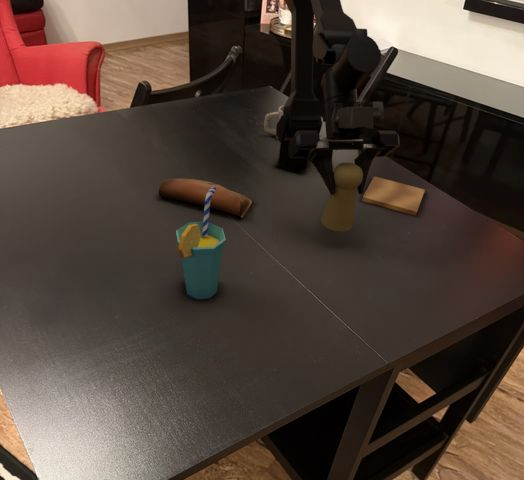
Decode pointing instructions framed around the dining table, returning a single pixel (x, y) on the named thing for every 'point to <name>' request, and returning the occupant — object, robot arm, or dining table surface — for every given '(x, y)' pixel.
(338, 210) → the pepper shaker
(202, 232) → the cup
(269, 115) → the mug
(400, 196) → the cork mat
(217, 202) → the sunglasses case
